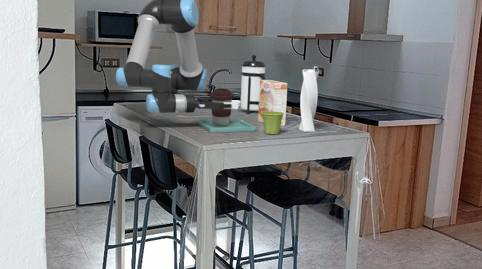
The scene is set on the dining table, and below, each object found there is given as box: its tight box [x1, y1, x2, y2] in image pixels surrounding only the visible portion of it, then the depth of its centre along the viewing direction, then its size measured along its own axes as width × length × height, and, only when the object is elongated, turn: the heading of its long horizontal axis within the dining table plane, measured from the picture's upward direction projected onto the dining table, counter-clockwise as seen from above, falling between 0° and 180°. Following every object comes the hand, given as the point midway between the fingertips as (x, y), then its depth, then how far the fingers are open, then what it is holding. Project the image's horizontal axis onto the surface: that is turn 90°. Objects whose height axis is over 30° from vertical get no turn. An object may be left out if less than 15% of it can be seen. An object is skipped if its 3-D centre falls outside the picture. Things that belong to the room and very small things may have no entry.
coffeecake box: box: [257, 79, 288, 127], centre depth 230 cm, size 15×7×20 cm, turn 23°
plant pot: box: [261, 111, 284, 135], centre depth 206 cm, size 9×9×9 cm
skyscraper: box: [296, 65, 320, 133], centre depth 213 cm, size 8×8×28 cm
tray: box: [197, 119, 257, 133], centre depth 215 cm, size 20×20×2 cm
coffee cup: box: [209, 87, 234, 126], centre depth 215 cm, size 10×10×15 cm
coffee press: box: [237, 54, 267, 114], centre depth 262 cm, size 17×16×30 cm
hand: (233, 103), depth 215 cm, fingers open, 13 cm apart
